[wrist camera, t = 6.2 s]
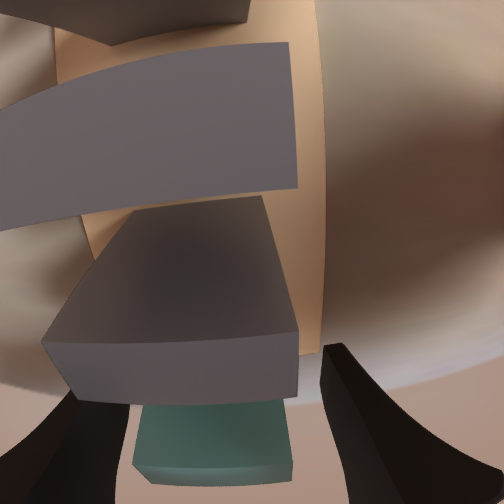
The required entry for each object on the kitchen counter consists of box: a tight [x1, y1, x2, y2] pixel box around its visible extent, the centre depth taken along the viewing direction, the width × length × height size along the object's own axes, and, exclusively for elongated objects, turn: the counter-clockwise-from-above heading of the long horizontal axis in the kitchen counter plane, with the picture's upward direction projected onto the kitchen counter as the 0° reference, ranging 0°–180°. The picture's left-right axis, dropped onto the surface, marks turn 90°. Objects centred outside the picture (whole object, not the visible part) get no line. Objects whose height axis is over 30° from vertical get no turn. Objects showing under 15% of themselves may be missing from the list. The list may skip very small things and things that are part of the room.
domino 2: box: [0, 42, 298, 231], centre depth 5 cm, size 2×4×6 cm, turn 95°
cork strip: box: [55, 0, 326, 355], centre depth 9 cm, size 8×17×1 cm, turn 5°
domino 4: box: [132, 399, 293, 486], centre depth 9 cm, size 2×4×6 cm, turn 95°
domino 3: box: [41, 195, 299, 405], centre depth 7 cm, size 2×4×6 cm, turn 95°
